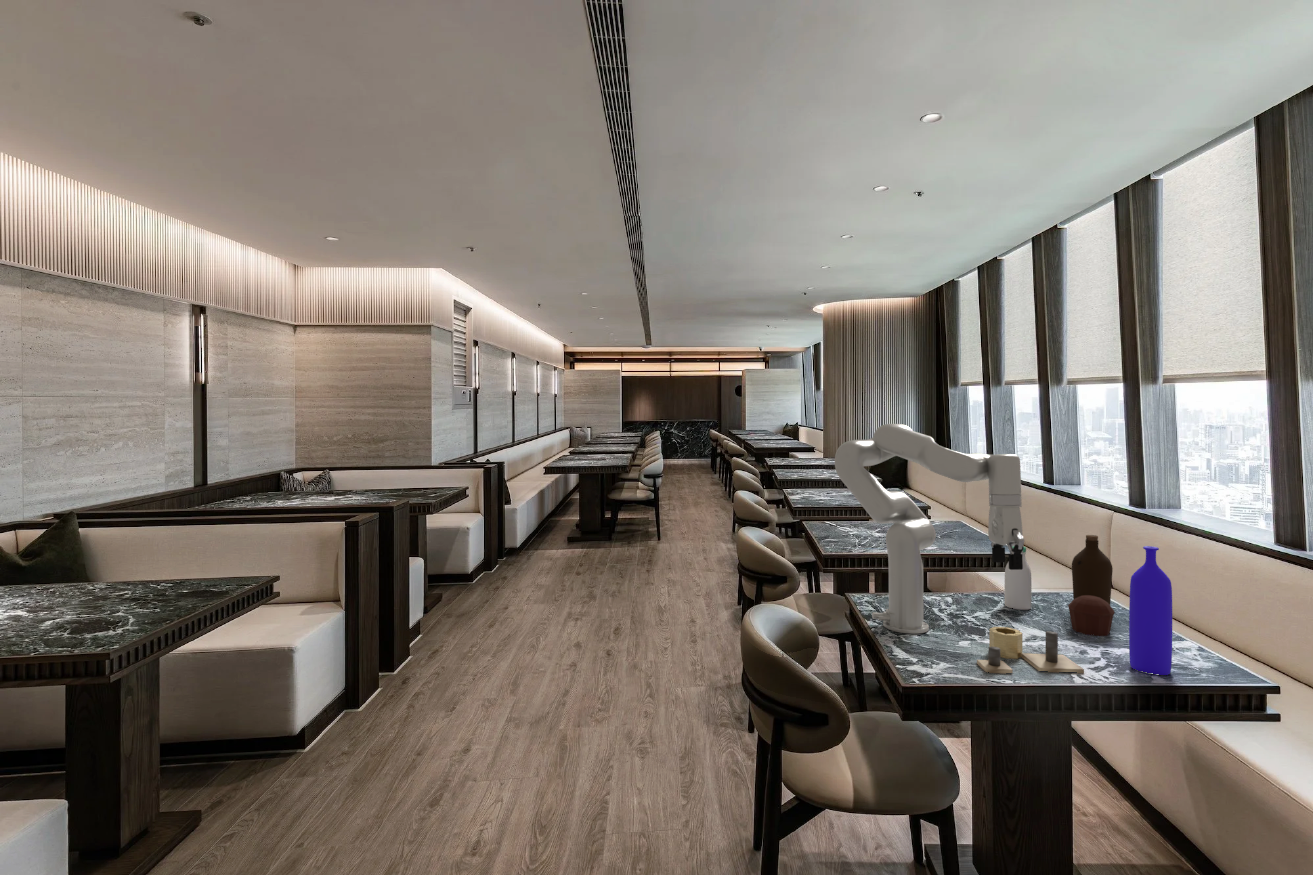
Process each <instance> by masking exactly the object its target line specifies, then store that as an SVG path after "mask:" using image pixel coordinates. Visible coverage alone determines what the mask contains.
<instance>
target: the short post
mask: <svg viewBox="0 0 1313 875" xmlns="http://www.w3.org/2000/svg"><path fill="white" fill-rule="evenodd" d="M987 650H988V659H976V664H977V665H978V666H979V667H980V668H981V669H982V670H983V671H984V672H985V673H986V672H987V674H1006V673H1013V670H1014V669H1013V668H1011V667H1010V666H1009V665H1008V664H1007V663H1006V662H1005V661H1003V660H1001V657H1000V648H998V647H989V646H988V649H987ZM988 672H989V673H988Z"/></svg>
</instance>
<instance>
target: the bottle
mask: <svg viewBox="0 0 1313 875" xmlns="http://www.w3.org/2000/svg"><path fill="white" fill-rule="evenodd" d="M1142 548H1143V550H1145V561H1144V563H1143V565H1142V566H1140V567H1139V568H1138V569H1137V570H1136V571H1134V572H1133V574H1132V575H1131V577H1130V584H1129V604H1128V605H1129V607H1128V608H1129V610H1128V612H1129V613H1128V615H1129V617H1128V618H1129V621H1128V623H1129V625H1128V626H1129V627H1128V630H1129V631H1128V639H1129V640H1128V646H1129V647H1128V648H1129V650H1128V651H1129V664H1130V665H1129V666H1130V667H1131V669H1132V668H1133V670H1134V669H1136V670H1138V671H1143V672H1147V673H1153V674H1159V675H1167V676H1169V675H1170V674H1171V672H1172V662H1173V661H1172V660H1173V588H1172V582H1171V579H1170V578H1169V577H1168V575H1167V574H1166V573H1165V572H1164V570H1162V568H1160V566H1159V565H1158V563H1157V551H1159V550H1160V549H1159V547H1157V546H1153V545H1151V546H1150V545H1145V546H1143V547H1142ZM1136 670H1135V671H1136ZM1138 671H1137V672H1138ZM1168 674H1169V675H1168Z"/></svg>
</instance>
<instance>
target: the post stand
mask: <svg viewBox="0 0 1313 875" xmlns="http://www.w3.org/2000/svg"><path fill="white" fill-rule="evenodd" d="M1058 634H1059V633H1058V632H1056V631H1049V630H1048V631H1045V653H1026V652H1022V653H1021V657H1020V658H1021V659H1023V660H1025V661H1026V662H1027V663H1028V664H1029V665H1031V666H1032V667H1033V668H1034V669H1035V670H1037V671H1038V672H1039V671H1048V672H1047V673H1059V672H1077V673H1076V674H1085V668H1083V667H1081V666H1080V665H1079V664H1078V663H1075V662H1074V661H1073V660H1071V659H1070V658H1068V657H1067V656H1066V655H1064V654H1058V653H1059V641H1058V640H1059V635H1058Z"/></svg>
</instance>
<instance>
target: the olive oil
mask: <svg viewBox="0 0 1313 875" xmlns="http://www.w3.org/2000/svg"><path fill="white" fill-rule="evenodd" d="M1113 569H1114V568H1113V564H1112V562H1111V560H1110V558H1109V557H1108V556H1107V555H1106V554H1105V553H1104V552H1103V551H1101V549H1100V548H1099V536H1098V535H1093V534H1086V535H1085V547H1084V548H1083V549H1082V550H1080V551H1079V552H1078V553H1077V554H1076V555H1074V557H1073V558H1072V561H1071V576H1072V577H1071V578H1072V596H1073V598H1072V601H1073V600H1074V599H1075V598H1077V597H1080V596H1084V595H1091V596H1096V597H1099V598H1101V599H1103V600H1105V601H1106V602H1107V603H1108V604H1109V605H1110V606H1111V598H1112V597H1111V596H1112V580H1113Z"/></svg>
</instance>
